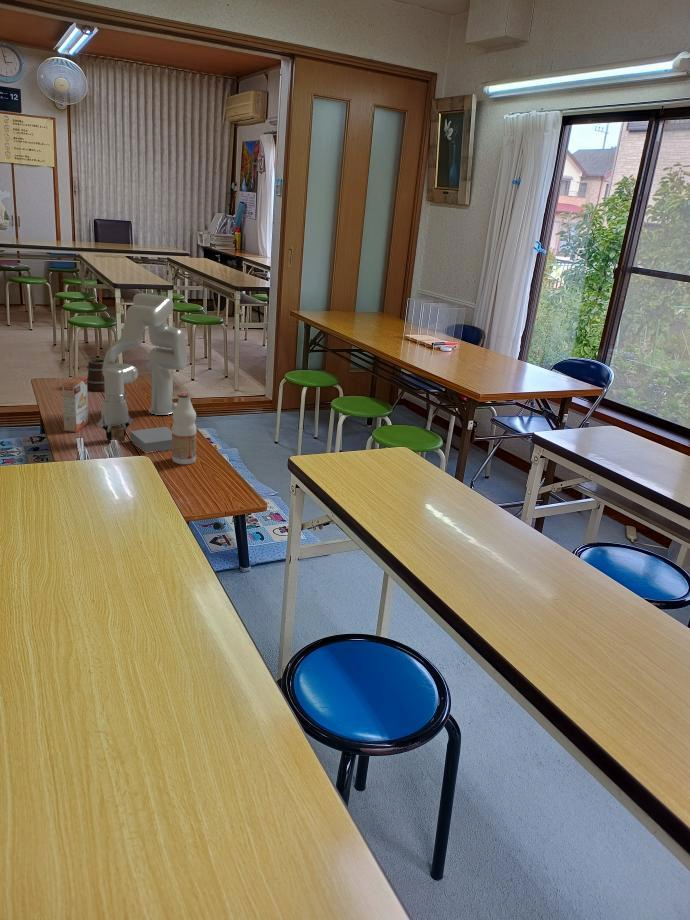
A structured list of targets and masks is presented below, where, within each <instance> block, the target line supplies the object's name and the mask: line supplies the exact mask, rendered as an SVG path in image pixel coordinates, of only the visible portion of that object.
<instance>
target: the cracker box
mask: <svg viewBox="0 0 690 920" xmlns="http://www.w3.org/2000/svg"><path fill="white" fill-rule="evenodd" d="M87 378H88V377H77V376H74V377H72V378H71V379H69V380H68V381H67V380H66V381H65V382H64V383H62V384H61V393H62V394H61V395H62V396H61V397H62V398H61V399H62V417H63V432H72V433H77V432H79V431H80V430H81V429H82V428H84V427H85V426H86V425H87V424H88V423H89V401H88V400H89V399H88V390H87Z"/></svg>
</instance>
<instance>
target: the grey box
mask: <svg viewBox="0 0 690 920" xmlns="http://www.w3.org/2000/svg"><path fill="white" fill-rule="evenodd" d="M129 435H130V436H129V437H130V438H129V439H130V441H132V442H133V443H134V444H136V445H137V446H139V447H140V448H141V449H143V450H144V451H145V452H150V451H161V452H167V451H166V450H168V451H172V429H170V428H169V427H167V426H160V427H153V428H145V429H138V430H136V429H135V430H130V431H129ZM132 442H131V443H132ZM133 443H132V444H133ZM134 444H133V445H134Z"/></svg>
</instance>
